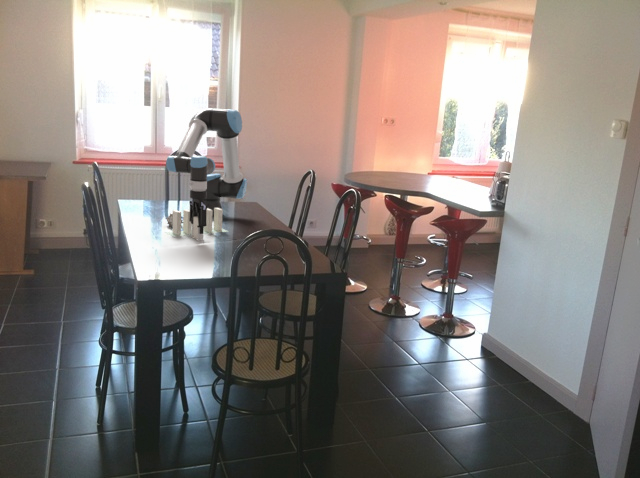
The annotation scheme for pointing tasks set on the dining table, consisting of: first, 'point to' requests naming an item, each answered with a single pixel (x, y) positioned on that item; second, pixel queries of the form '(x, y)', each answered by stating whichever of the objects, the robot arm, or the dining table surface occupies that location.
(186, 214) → the domino
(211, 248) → the dining table surface
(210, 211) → the domino
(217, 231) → the board
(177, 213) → the domino
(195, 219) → the domino
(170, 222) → the game die
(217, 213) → the domino
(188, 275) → the dining table surface
